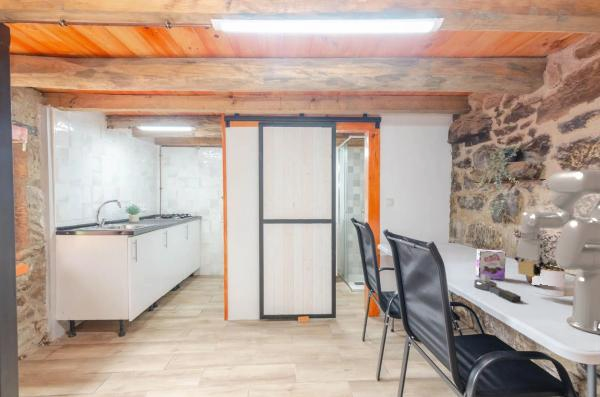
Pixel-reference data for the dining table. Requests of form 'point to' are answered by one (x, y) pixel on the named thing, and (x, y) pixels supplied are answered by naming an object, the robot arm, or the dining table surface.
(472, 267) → the dining table surface
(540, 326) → the dining table surface
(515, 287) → the dining table surface
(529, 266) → the tan cube
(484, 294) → the dining table surface
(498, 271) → the candy box
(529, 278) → the tin
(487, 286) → the ratchet
